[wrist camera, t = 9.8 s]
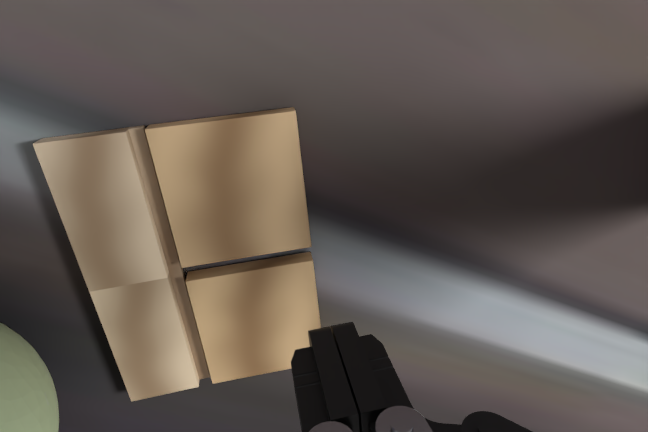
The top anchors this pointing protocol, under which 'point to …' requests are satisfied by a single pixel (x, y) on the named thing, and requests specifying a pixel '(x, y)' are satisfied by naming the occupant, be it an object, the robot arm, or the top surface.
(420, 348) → the top surface
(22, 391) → the toy
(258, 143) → the plank near
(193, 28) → the top surface
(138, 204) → the laid strip
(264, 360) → the plank far
